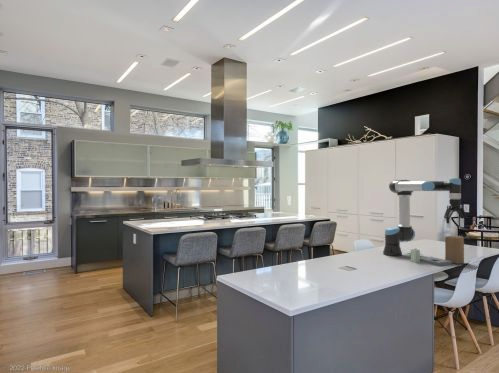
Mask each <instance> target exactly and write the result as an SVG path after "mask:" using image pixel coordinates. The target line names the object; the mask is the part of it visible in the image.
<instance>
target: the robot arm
mask: <svg viewBox="0 0 499 373" xmlns="http://www.w3.org/2000/svg"><path fill="white" fill-rule="evenodd" d="M388 189H389V191H390V192H392V193H394V194H396V196H397V197H398V208H399V209H398V213H399V214H398V219H399V220H398V221H399V222H398V223H399V224H397V226H389V227H386V228H385V229H384V230H385V231H384V238H385V239H384V243H385V244H384V248H383V251H382V254H383V255H385V256H391V257H399V256H400V257H401V256H403V252H402V248H401V242H405V243H406V242H411V241H412V240H414V238H415V237H416V231H415V230H414V228H413V227H412V224H411V197H412V196H413V195H412V194H413V193H414V192H448V194H449V195H448V196H449V197H448V198H449V201H448V202H449V205H448V204H447V206H446V210H445V213H444V216H443V218H444V219H446V220H445V222H446V228H448V229H451V228H452V227H451V226H452V225H451V223H452V219H451V217H452V215H453V213H455V212H456V213H457V214H458V216H459V227H460V228H465V219H466V218H467V214H466V212H465V209H464V205H463V204H462V180H461V178H459V177H458V178H456V177H453V178H452V177H451V178H449V179H448V181H446V180H441V181H440V180H426V181H423V180H422V181H412V180H409V179H394V180H391V181H390V183H389V184H388Z"/></svg>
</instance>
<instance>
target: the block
mask: <svg viewBox="0 0 499 373" xmlns="http://www.w3.org/2000/svg"><path fill="white" fill-rule="evenodd" d="M444 240H445V241H444V244H445V248H444V249H445V251H444V252H445V253H444V254H445V259H444V260H448V261H452V264H455V265H460V264H463V263H465V252H464V251H465V238H464V237H463V236H460V235H459V236H458V235H448V236H445V238H444Z"/></svg>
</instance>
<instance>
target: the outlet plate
mask: <svg viewBox="0 0 499 373" xmlns="http://www.w3.org/2000/svg"><path fill="white" fill-rule="evenodd" d="M424 257H425V258H420V262H419V263H424V264H429V265H433V266H437V267H442V266H450V265H453V263H452V261H448V260H445V259H444V258H438V257H434V256H433V257H432V256H424Z"/></svg>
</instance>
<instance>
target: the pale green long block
mask: <svg viewBox="0 0 499 373" xmlns="http://www.w3.org/2000/svg"><path fill="white" fill-rule="evenodd" d="M420 256H421V250H420V249H417V248H412V249H410V262H411V263H421V262H420Z"/></svg>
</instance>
